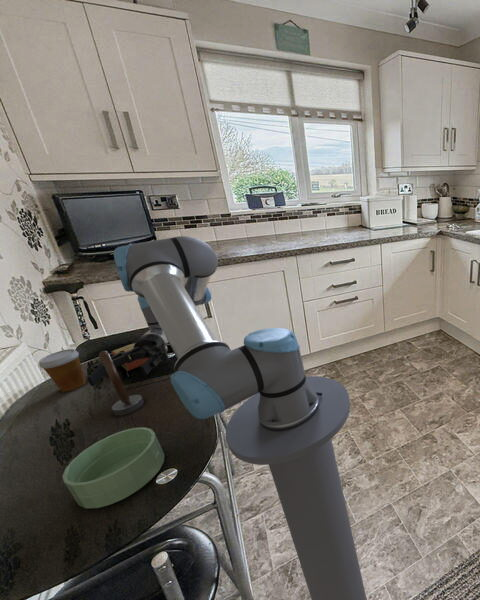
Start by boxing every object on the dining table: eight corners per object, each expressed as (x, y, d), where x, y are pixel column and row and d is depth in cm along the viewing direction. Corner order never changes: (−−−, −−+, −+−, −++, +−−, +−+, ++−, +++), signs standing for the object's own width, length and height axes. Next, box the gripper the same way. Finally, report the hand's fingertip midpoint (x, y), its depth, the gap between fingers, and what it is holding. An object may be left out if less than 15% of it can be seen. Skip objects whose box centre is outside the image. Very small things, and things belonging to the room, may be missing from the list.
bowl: (166, 440, 81) (155, 418, 79) (164, 482, 69) (152, 457, 67) (87, 472, 74) (73, 449, 72) (69, 526, 62) (52, 499, 59)
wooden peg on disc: (144, 397, 101) (120, 342, 94) (142, 408, 95) (116, 351, 88) (116, 406, 97) (88, 351, 91) (112, 419, 92) (83, 361, 85)
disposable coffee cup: (59, 397, 105) (41, 365, 101) (51, 390, 110) (33, 359, 106) (96, 381, 113) (81, 351, 108) (87, 375, 118) (72, 346, 113)
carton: (139, 351, 133) (136, 341, 131) (154, 360, 123) (150, 350, 122) (114, 360, 126) (110, 351, 125) (127, 371, 117) (123, 361, 116)
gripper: (194, 345, 117) (169, 377, 97) (115, 360, 112) (73, 396, 93) (187, 326, 114) (160, 356, 95) (106, 340, 109) (60, 374, 90)
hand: (117, 376), depth 93 cm, fingers open, 13 cm apart
